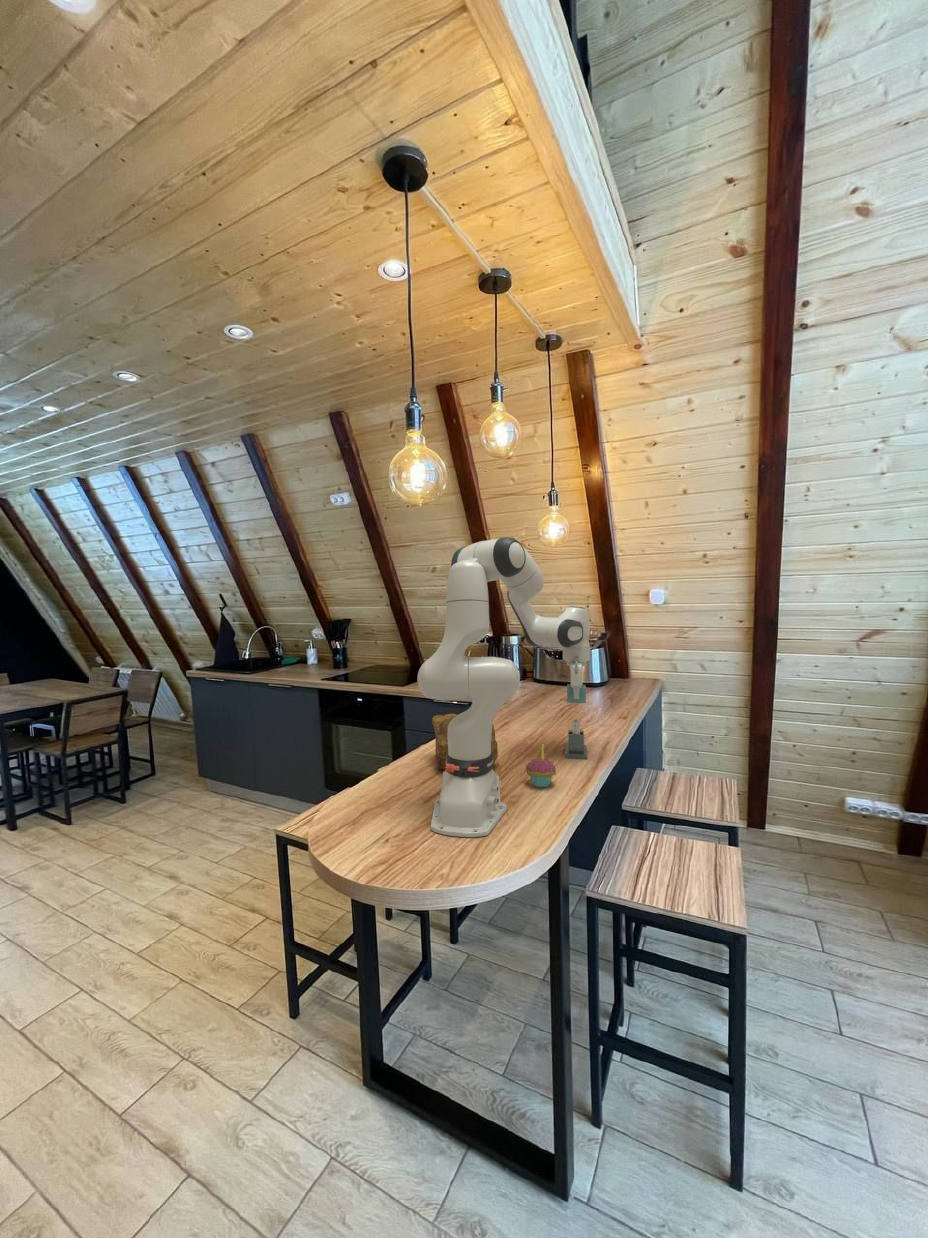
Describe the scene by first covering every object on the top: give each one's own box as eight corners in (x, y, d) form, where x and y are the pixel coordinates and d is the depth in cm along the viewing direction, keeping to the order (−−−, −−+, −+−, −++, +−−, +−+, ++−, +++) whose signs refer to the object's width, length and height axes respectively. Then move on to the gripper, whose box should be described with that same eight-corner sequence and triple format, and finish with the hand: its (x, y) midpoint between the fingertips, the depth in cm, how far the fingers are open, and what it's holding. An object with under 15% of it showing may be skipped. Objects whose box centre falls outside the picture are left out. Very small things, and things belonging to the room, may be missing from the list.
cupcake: (531, 776, 146) (531, 737, 145) (559, 781, 142) (559, 740, 142) (522, 787, 139) (521, 745, 138) (551, 792, 135) (551, 749, 134)
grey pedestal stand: (587, 759, 160) (587, 724, 159) (565, 758, 162) (565, 723, 161) (586, 746, 173) (586, 714, 172) (565, 745, 174) (565, 713, 173)
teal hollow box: (585, 703, 161) (585, 688, 160) (567, 702, 162) (567, 687, 162) (585, 699, 167) (585, 684, 166) (567, 698, 168) (567, 684, 168)
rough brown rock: (412, 769, 156) (410, 724, 153) (441, 750, 170) (440, 708, 167) (475, 786, 143) (474, 738, 141) (501, 764, 157) (500, 719, 155)
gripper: (586, 659, 153) (586, 703, 153) (585, 651, 172) (585, 690, 173) (566, 659, 154) (566, 702, 155) (566, 651, 174) (567, 689, 175)
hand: (576, 696), depth 164 cm, fingers closed on teal hollow box, 6 cm apart
